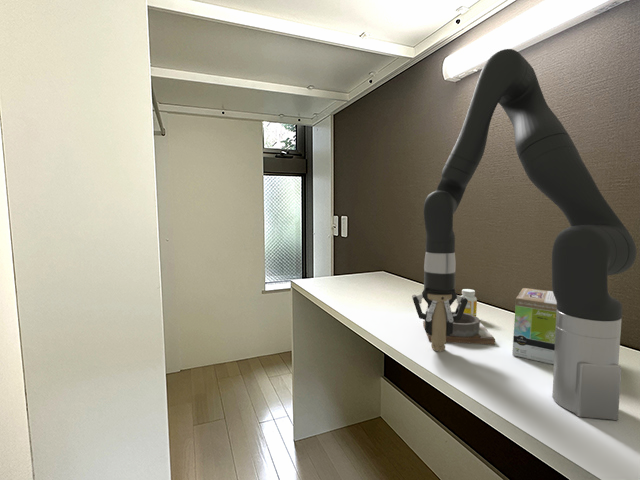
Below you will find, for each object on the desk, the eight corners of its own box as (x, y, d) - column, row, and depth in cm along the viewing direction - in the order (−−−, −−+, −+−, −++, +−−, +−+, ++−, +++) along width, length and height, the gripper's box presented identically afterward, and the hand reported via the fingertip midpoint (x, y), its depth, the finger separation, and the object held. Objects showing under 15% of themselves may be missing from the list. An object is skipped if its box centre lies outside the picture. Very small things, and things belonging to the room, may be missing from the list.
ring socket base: (494, 344, 90) (495, 326, 90) (429, 341, 93) (429, 323, 93) (480, 328, 103) (481, 312, 103) (423, 325, 106) (423, 310, 106)
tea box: (561, 367, 77) (564, 304, 76) (511, 356, 83) (513, 297, 82) (562, 345, 89) (565, 291, 88) (519, 337, 95) (521, 286, 94)
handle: (454, 353, 85) (455, 295, 84) (429, 353, 85) (430, 295, 84) (446, 345, 90) (447, 290, 89) (422, 346, 90) (423, 291, 89)
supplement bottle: (464, 321, 110) (464, 292, 109) (455, 316, 115) (456, 288, 114) (479, 320, 110) (480, 291, 110) (470, 315, 116) (471, 288, 115)
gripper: (412, 271, 84) (411, 338, 85) (473, 272, 81) (471, 341, 82) (409, 266, 91) (409, 328, 92) (465, 267, 88) (463, 331, 90)
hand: (438, 334), depth 87 cm, fingers closed on handle, 4 cm apart
